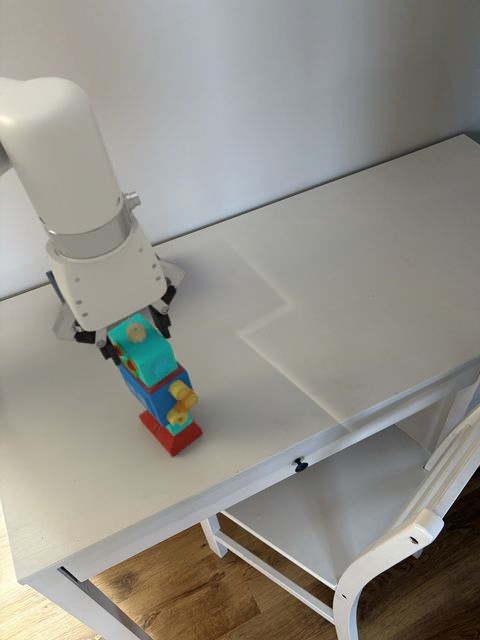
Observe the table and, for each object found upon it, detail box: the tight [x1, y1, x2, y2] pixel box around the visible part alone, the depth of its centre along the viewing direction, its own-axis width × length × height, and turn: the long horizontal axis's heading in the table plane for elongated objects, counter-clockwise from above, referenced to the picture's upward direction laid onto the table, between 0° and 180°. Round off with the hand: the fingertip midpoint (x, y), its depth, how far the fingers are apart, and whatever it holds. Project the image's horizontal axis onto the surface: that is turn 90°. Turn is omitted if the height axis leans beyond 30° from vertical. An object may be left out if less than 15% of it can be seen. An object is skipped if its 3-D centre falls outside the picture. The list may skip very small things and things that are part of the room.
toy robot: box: [107, 312, 203, 458], centre depth 69 cm, size 12×6×25 cm, turn 42°
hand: (138, 343), depth 64 cm, fingers open, 5 cm apart
